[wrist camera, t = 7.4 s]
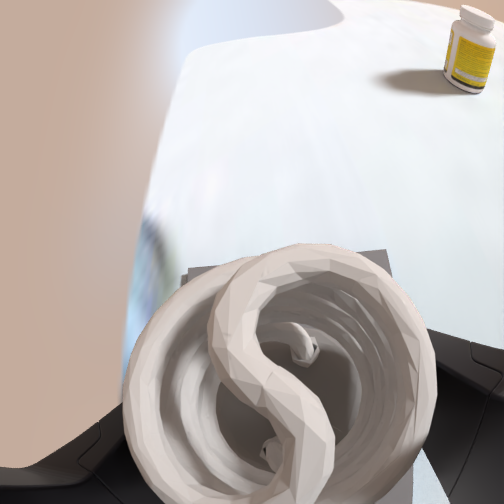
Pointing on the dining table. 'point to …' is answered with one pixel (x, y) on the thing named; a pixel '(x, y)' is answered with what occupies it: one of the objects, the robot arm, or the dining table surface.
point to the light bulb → (281, 383)
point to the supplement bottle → (470, 50)
